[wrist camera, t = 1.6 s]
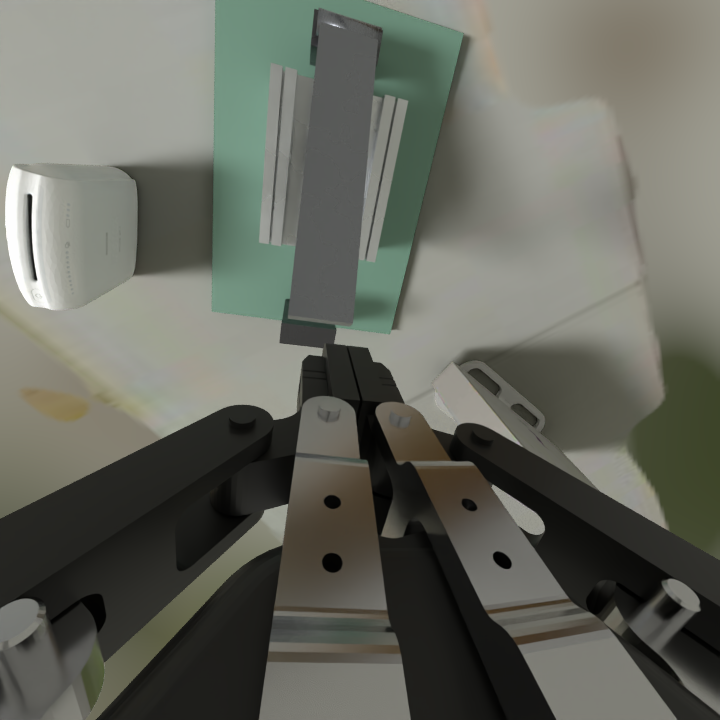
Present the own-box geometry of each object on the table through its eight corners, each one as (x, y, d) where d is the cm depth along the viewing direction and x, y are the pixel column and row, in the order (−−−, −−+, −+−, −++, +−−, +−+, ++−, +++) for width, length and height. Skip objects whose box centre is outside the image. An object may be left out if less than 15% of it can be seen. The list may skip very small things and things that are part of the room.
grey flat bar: (317, 23, 25) (319, 1, 23) (377, 41, 26) (383, 22, 24) (284, 318, 22) (284, 313, 21) (352, 327, 23) (356, 323, 22)
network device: (561, 429, 55) (684, 547, 37) (518, 465, 57) (615, 592, 39) (456, 338, 45) (555, 440, 27) (409, 386, 47) (472, 508, 29)
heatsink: (281, 24, 28) (275, -22, 22) (399, 60, 30) (425, 27, 24) (260, 313, 38) (251, 339, 32) (349, 325, 41) (358, 352, 34)
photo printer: (139, 282, 36) (69, 325, 26) (91, 271, 35) (-3, 312, 24) (143, 175, 32) (62, 172, 21) (90, 159, 31) (-24, 147, 20)
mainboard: (219, -40, 27) (216, -49, 26) (458, 38, 31) (463, 33, 30) (214, 307, 39) (211, 311, 38) (387, 330, 43) (390, 334, 42)
